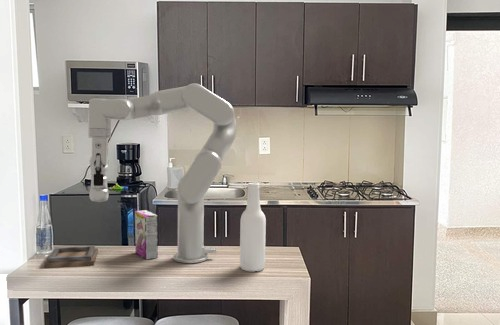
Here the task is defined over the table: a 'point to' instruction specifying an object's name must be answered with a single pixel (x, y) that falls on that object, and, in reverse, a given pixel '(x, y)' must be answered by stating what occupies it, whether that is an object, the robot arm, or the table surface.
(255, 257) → the alcohol
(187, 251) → the robot arm
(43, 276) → the table surface
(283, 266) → the table surface
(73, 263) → the brown wooden tray
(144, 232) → the candy bar box
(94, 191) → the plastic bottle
